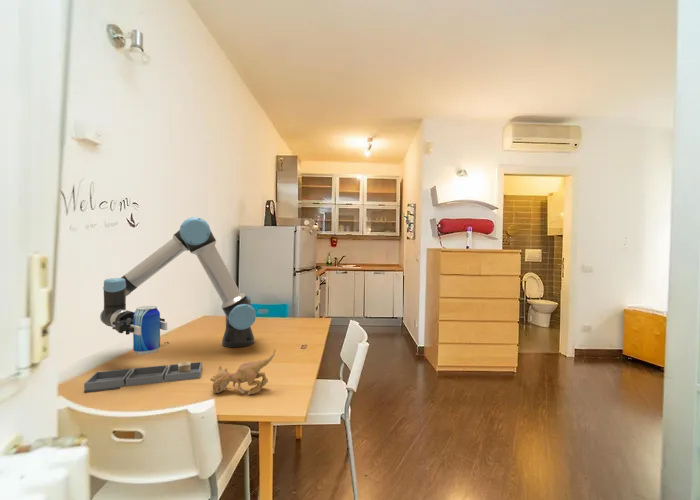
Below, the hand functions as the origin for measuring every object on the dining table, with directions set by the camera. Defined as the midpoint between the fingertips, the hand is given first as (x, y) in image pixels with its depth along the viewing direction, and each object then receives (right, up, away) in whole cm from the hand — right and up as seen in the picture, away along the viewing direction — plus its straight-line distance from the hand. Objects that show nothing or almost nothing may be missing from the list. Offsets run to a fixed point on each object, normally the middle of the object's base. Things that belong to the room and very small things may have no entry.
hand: (153, 328), depth 129 cm
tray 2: (+8, -19, +7) cm, 22 cm away
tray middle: (-4, -19, +3) cm, 20 cm away
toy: (+34, -20, -7) cm, 40 cm away
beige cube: (+8, -18, +7) cm, 21 cm away
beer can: (-4, -9, +3) cm, 10 cm away
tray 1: (-15, -19, 0) cm, 24 cm away
